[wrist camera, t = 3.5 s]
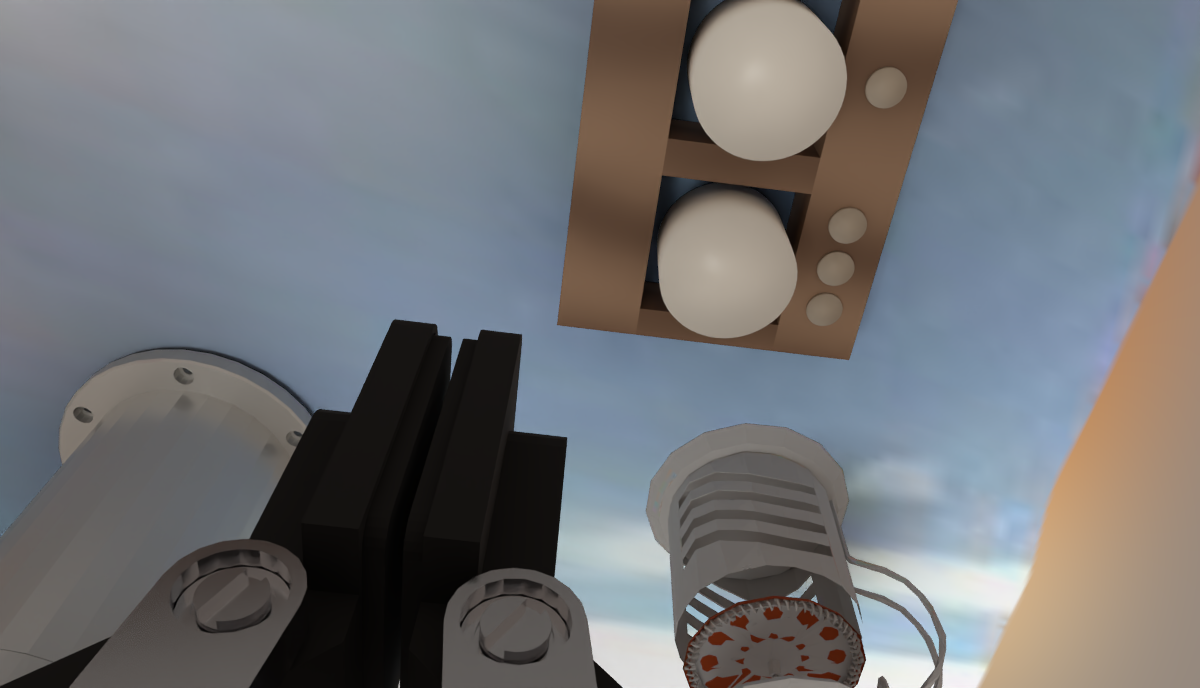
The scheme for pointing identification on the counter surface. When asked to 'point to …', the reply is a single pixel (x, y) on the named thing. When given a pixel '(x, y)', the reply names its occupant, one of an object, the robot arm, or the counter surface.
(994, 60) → the counter surface
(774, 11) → the button
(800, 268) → the button panel
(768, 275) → the three-pip button
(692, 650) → the french press
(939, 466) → the counter surface
